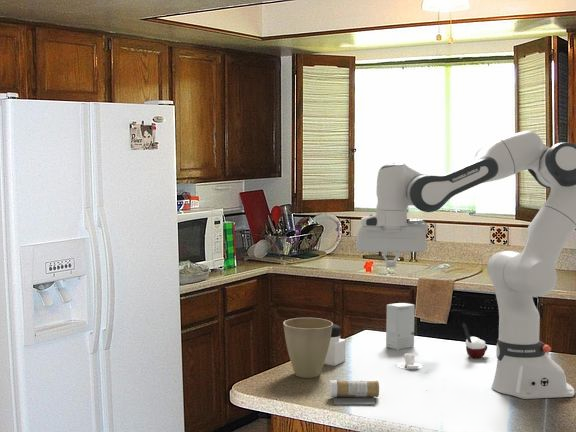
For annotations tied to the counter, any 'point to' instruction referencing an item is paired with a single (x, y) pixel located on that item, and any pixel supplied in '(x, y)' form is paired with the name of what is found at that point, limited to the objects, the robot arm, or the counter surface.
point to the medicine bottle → (335, 348)
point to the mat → (354, 401)
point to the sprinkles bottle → (353, 388)
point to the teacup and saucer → (410, 362)
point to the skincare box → (400, 325)
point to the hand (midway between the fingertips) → (390, 267)
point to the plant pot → (307, 344)
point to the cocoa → (474, 345)
